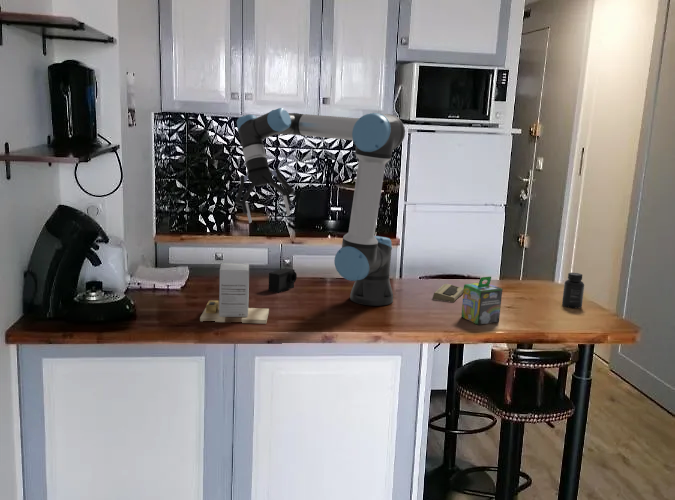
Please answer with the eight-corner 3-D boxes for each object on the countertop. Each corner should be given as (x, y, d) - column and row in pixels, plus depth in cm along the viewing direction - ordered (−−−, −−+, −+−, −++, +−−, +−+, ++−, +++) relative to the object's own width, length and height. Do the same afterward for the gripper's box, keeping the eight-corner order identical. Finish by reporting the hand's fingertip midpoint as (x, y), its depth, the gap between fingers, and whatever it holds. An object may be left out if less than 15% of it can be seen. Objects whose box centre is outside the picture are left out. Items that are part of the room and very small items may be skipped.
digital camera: (280, 294, 233) (281, 275, 232) (268, 291, 236) (268, 272, 234) (296, 288, 242) (297, 269, 241) (284, 285, 245) (285, 267, 243)
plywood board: (268, 312, 210) (269, 300, 210) (266, 323, 199) (266, 311, 198) (206, 309, 209) (206, 298, 209) (200, 321, 198) (200, 309, 197)
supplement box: (220, 308, 208) (220, 262, 205) (248, 308, 209) (249, 263, 206) (218, 317, 199) (219, 269, 196) (248, 317, 200) (249, 270, 197)
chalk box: (481, 314, 219) (486, 271, 217) (500, 322, 212) (504, 278, 209) (459, 317, 215) (463, 273, 212) (477, 325, 207) (481, 280, 204)
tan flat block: (454, 303, 233) (455, 294, 232) (432, 300, 236) (433, 291, 235) (463, 294, 247) (464, 285, 247) (443, 291, 250) (443, 282, 250)
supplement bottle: (584, 306, 236) (588, 274, 234) (577, 310, 231) (581, 277, 229) (566, 302, 240) (570, 270, 238) (558, 305, 236) (562, 273, 233)
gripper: (288, 156, 233) (302, 213, 231) (219, 169, 227) (233, 227, 224) (292, 150, 226) (306, 209, 224) (220, 162, 219) (235, 223, 217)
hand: (269, 218), depth 224 cm, fingers open, 13 cm apart
